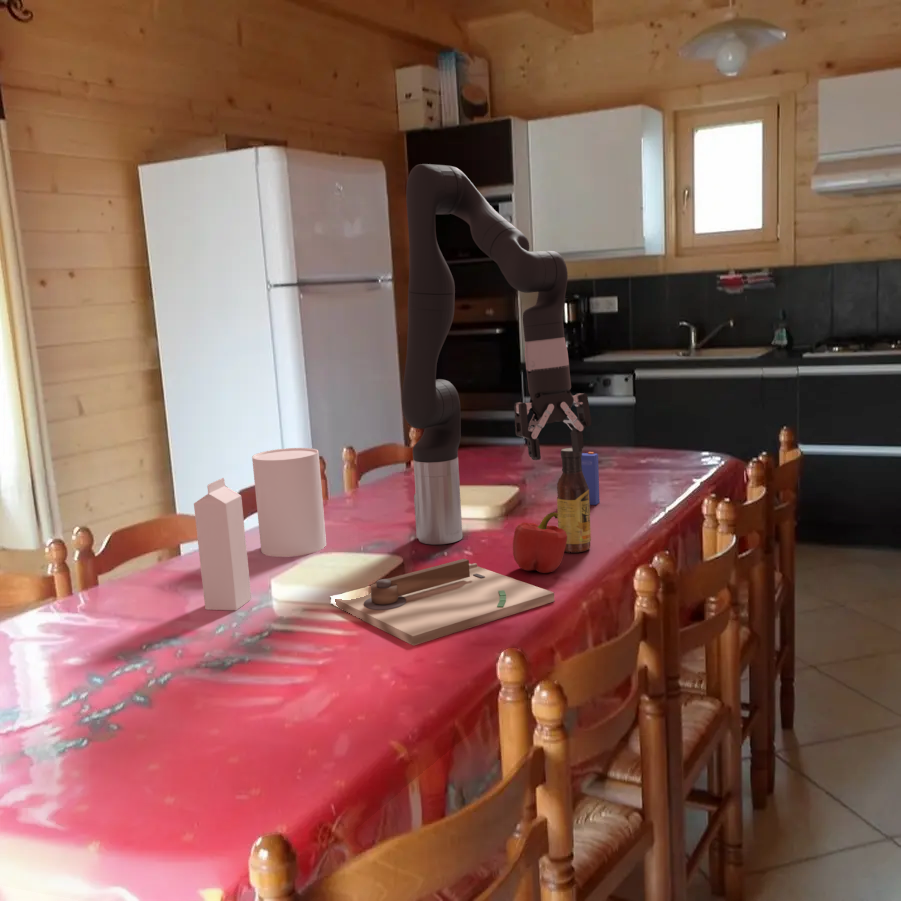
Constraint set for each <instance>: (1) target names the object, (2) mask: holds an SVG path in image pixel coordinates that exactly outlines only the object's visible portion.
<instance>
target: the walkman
mask: <svg viewBox="0 0 901 901" xmlns="http://www.w3.org/2000/svg"><path fill="white" fill-rule="evenodd" d="M581 465H582V472H583V475H584V478H585V480H586V483H587V485H588V488H589V503H590V506H597V505H598V504H599V503H600V502H601V501H600V500H601V499H600V474H599V473H600V472H599V471H600V470H599V453H595V452H594V451H588V452H586V453H585V452H582V457H581Z"/></svg>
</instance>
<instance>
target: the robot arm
mask: <svg viewBox="0 0 901 901" xmlns="http://www.w3.org/2000/svg"><path fill="white" fill-rule="evenodd" d="M405 190H406V191H405V192H406V193H405V195H406V196H405V199H406V215H407V216H406V217H407V218H406V219H407V227H408V228H407V229H408V250H409V255H408V256H409V257H408V258H409V259H408V264H409V265H408V289H407V339H406V340H407V341H406V359H405V366H404V367H405V369H404V375H403V376H404V377H403V384H402V389H401V390H402V391H401V408H402V413H403V414H402V415H403V416H404V418H405V420H406V422H407V424H408V425H409V426H411V427H412V428H415V429H417V430H418V429H423V434H422V436H421V437H420V439H419V440H418V441H417V442H416V443H415V444H414V446H413V448H412V459H413V460H412V461H413V463H412V464H413V472H414V473H413V474H414V488H415V489H414V490H415V493H414V494H413V502H414V515H415V518H414V519H415V530H416V531H415V532H416V534H415V535H416V538H417V539H418V541H419V542H420V543H422V544H425V545H447V544H452V543H456V542H458V541H461V540H462V539H463V522H462V504H461V500H462V499H461V487H460V485H461V484H460V471H459V470H460V469H459V454H458V452H459V447H460V444H461V437H462V436H461V435H462V434H461V430H462V428H461V427H462V426H461V425H462V424H461V423H462V422H461V421H462V420H461V418H462V416H461V415H462V414H461V401H460V397H459V392H458V390H457V389H456V387H455V386H454V384H453V383H451V381H449V380H446V379H442V378H438V379H437V366H438V364H437V363H438V359H439V357H440V356H439V355H440V353H441V351H442V347H443V345H444V343H445V341H446V339H447V336H448V334H449V332H450V329H451V327H452V323H453V321H454V315H455V303H456V302H455V300H456V299H455V298H456V297H455V293H456V290H455V289H456V285H455V280H454V277H453V275H452V272H451V270H450V267H449V265H448V264H447V261H446V259H445V257H444V256H443V253H442V251H441V249H440V246H439V244H438V240H437V231H436V230H437V229H436V215H450V214H451V215H454V216H456V217H458V218H460V219H461V220H463V221H464V222H465V223H467V224H468V225H469V229H470V234H471V237H472V240H473V241H474V243H475V244H476V246H477V247H478V248H479V249H480V250H481V251H482V253H484V254H485V256H488V257H489V258H490V260H493V261H494V263H496V264H497V266H498V268H499V269H500V272H501V274H502V275H503V276H504V278H505V280H506V281H507V283H508V284H509V286H510V287H512V288H513V289H515V290H516V291H519V292H520V293H525V294H526V293H527V294H528V293H537V294H538V295H537V298H536V303H535V304H534V305H533V306H531V307H528V308H526V309H525V310H524V311H523V313H522V326H523V335H524V336H523V338H524V348H525V349H524V360H525V369H526V377H527V378H526V380H527V387H528V393H529V397H530V399H529V401H528V402H515V403H514V406H513V409H514V410H513V412H514V426H515V435H516V436H517V437H520V438H523V439H524V438H525V439H526V443H527V444H526V445H527V453H528V456H529V457H530V458H531V460H533V461H540V460H541V459H542V456H541V447H540V438H538V436H539V435H540V432H541V431H542V429H543V428H545V425H546V424H553V423H555V422H563V423H564V424H566V425H567V427H569V429H570V430H571V431H570V440H571V448H572V450H573V452H576V453H579V452H582V453H583V450H584V448H585V445H584V435H583V433H584V432H583V431H584V429H587V428H588V427H591V425H592V422H593V421H592V416H591V409H590V405H589V404H590V403H589V397H588V396H589V395H588V394H587V393H585V392H584V393H580V392H579V393H576V394H575V395H573V394H572V393H571V388H572V382H571V373H570V362H569V353H568V348H567V342H566V337H565V328H564V327H565V326H564V320H563V312H564V306H565V301H566V292H567V286H568V274H569V273H568V267H567V264H566V262H565V260H564V258H563V256H562V255H561V254H560V253H559V252H557V251H554V250H538V251H537V250H534V251H533V250H532V251H530V242H529V239H528V238H527V237H526V235H525V234H524V232H522V231H521V230H519V228H517V227H515V226H514V225H513V224H512V223H511V222H509V221H508V220H507V219H506V218H505V217H503V216H502V215H501V214H500V213H499V212H498V211H496V209H494V207H493V206H492V205H490V203H489V202H488V201H487V199H486V198H485V196H483V194H481V192H480V191H479V190H478V189H477V188H476V186H475V185H474V183H473V182H472V181H471V180H470V179H469V178H468V176H467V175H466V174H465V173H464V172H463V171H462V170H461V169H459V168H458V167H456V166H452V165H447V164H446V165H445V164H431V163H429V164H428V163H422V164H421V163H420V164H416V165H415V166H414V167H412V169H411V170H410V171H409V174H408V177H407V181H406V189H405ZM573 405H574V406H575V408H576V413H577V414H575V412H573V411H572V410H571V408H572V406H573ZM530 411H531V412H532V413H533V415H532V416H531V419H530V421H529V423H528V415H529V413H530Z"/></svg>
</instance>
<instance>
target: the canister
mask: <svg viewBox="0 0 901 901" xmlns="http://www.w3.org/2000/svg"><path fill="white" fill-rule="evenodd" d="M251 461H252V470H253V480H254V490H255V491H254V492H255V500H256V502H255V503H256V511H257V520H258V522H257V523H258V530H259V532H258V533H259V541H260V542H259V544H260V551H261V554H263V555H265V556H268V557H275V558H276V557H277V558H288V557H289V558H291V557H301V556H305V555H311V554H314V553H317V552H320V551H321V549H322V550H323V549H325V548H326V547H327V538H326V537H327V536H326V524H325V512H324V501H323V500H324V499H323V490H322V488H323V487H322V476H321V466H320V454H319V450H318V449H317V448H313V447H311V448H310V447H288V448H278V449H272V450H270V449H269V450H265V451H262V452H261V451H260V452H258V453H255V454H253V455H252V457H251ZM325 546H326V547H325ZM324 547H325V548H324Z"/></svg>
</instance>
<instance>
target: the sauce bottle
mask: <svg viewBox="0 0 901 901" xmlns="http://www.w3.org/2000/svg"><path fill="white" fill-rule="evenodd" d="M582 453H583V451H582V452H579V453H576V452H573V450H572V447H568V448H562V449H561V450H560V457H561V458H560V459H561V464H562V465H561V471H562V474H561V475H560V478H558V481H557V483H556V485H557V486H556V490H557V497H556V503H557V504H556V505H557V506H556V507H557V514H558V518H557V527H558V528H562V529H563V530H564V531H565V532H566V534H567V542H566V546H565V551H564V553H570V552H571V553H578V554H579V553H582V552H587V551H588V550H590V548H591V540H592V539H591V538H592V534H591V532H592V531H591V508H590V507H591V505H590V503H589V488H588V485H587V483H586V480H585V478H584V475H583V472H582V465H581V457H582Z"/></svg>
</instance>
